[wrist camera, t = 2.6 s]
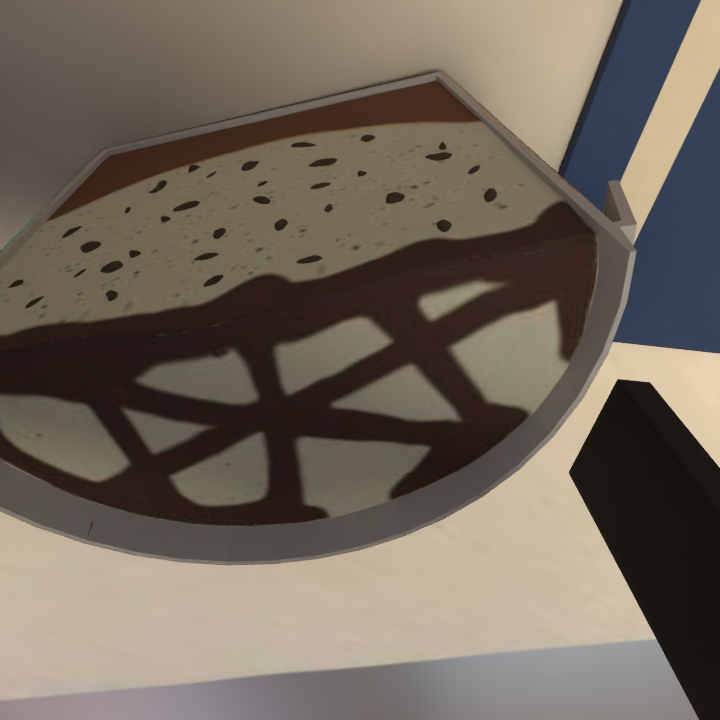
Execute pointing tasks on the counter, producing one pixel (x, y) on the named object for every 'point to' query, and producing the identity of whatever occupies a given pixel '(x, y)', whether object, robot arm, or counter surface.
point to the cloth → (660, 165)
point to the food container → (300, 328)
